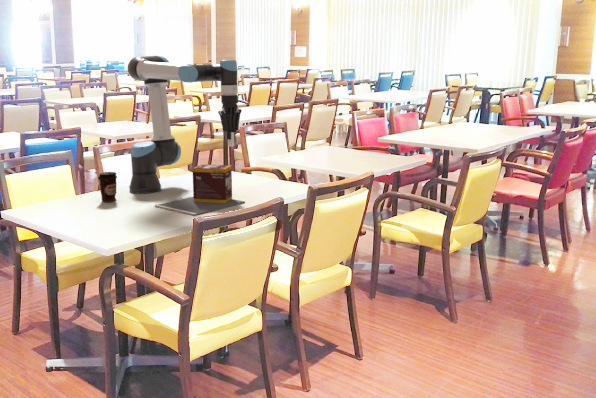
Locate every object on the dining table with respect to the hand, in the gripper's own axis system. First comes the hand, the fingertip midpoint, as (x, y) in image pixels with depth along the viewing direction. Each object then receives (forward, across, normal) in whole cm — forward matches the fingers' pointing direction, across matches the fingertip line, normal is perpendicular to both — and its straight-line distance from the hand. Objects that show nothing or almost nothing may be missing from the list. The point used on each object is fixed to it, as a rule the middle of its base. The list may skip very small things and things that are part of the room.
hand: (231, 146), depth 297 cm
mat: (+24, -20, 0) cm, 31 cm away
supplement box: (+24, -12, 0) cm, 26 cm away
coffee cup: (+24, -41, +39) cm, 61 cm away
